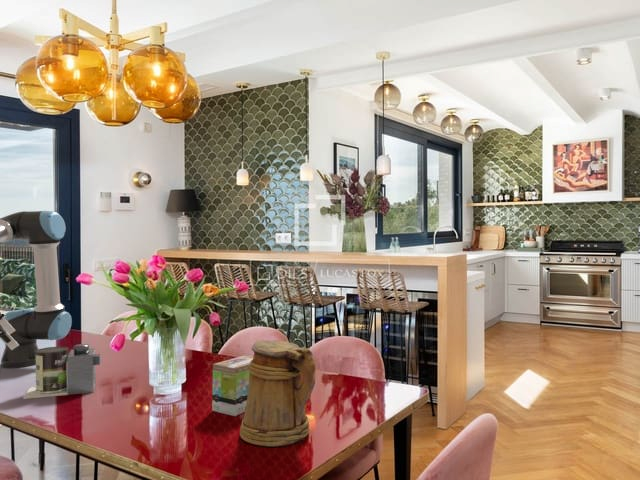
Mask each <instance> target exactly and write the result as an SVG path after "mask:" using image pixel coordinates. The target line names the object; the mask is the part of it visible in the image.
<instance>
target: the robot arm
mask: <svg viewBox="0 0 640 480" xmlns="http://www.w3.org/2000/svg"><path fill="white" fill-rule="evenodd" d="M66 229H67V227H66V223H65V220H64V218H63V217H62V216H61V215H60V213H58V212H56V211H52V210H51V211H50V210H38V211H37V210H34V211H31V210H29V211H27V210H26V211H24V210H23V211H18V212H13V213H11V214H9V215H6V216H3V217H1V218H0V243H8V242H10V241H15V240H28V245H29V246H30V247H31V248H32V250H33V260H34V261H33V262H34V275H35V276H34V277H35V289H36V292H35V293H36V302H37V305H36V306H35V307H28V308H22V309H17V310H11V311H8V312H6V313H5V314H4V313H2V312H1V311H0V340H1V341H2V342H3V343H4V345H5V348H4V349H3V353H2V356H1V359H0V367H3V368H11V369H12V368H13V369H14V368H23V367H30V366H34V365H35V366H36V354H35V351H36V350H38V349H39V347H38V343H37V340H42V341H44V340H46V341H47V340H48V341H55V340H57V341H58V340H62V339H64V338H65V337H66V336H67V335H68V334H69V332H70V331H71V327H72V323H73V320H72V315H71V314H70V313H69V312H67V311H66V308H65V305H64V304H62V303H61V297H60V294H61V293H60V279H59V267H58V266H59V265H58V253H57V252H58V251H57V247H58V246H59V244H61V239H63V238H64V237H65V234H66Z"/></svg>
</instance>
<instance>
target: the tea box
mask: <svg viewBox="0 0 640 480" xmlns="http://www.w3.org/2000/svg"><path fill="white" fill-rule="evenodd" d="M253 357H254V356H252V355H251V356H249V355H240V356H237V357H233V358H229V359H227V360H223V361H220V362H215V363H213V364H212V392H211V393H212V404H211V406H212V407H211V408H212V411H213V412H216V413H219V414H225V415H228V416H231V417H237V416H238V415H240V414H243V413H245V409H246V403H247V396H248V389H249V381H250V374H251V373H250V372H249V368H250V362H251V360H253Z"/></svg>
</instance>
